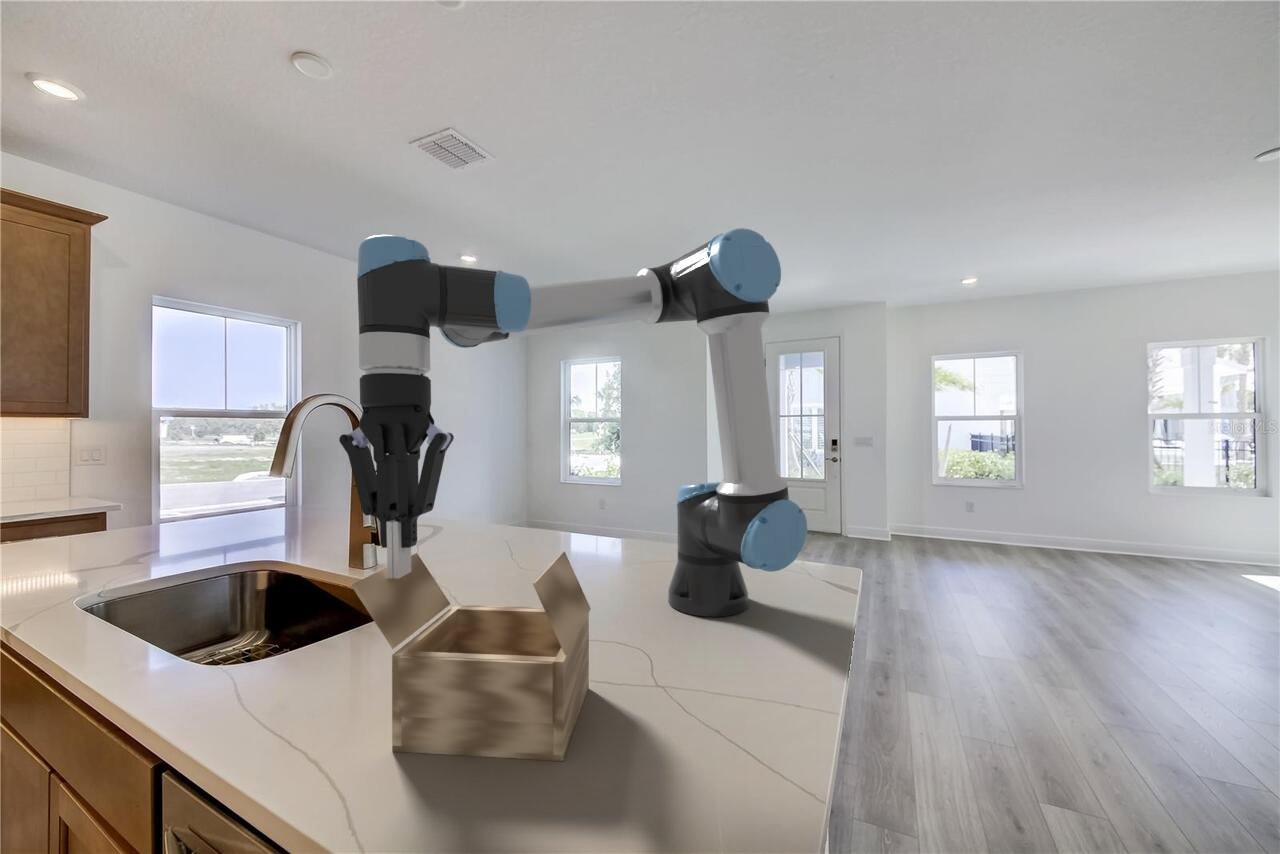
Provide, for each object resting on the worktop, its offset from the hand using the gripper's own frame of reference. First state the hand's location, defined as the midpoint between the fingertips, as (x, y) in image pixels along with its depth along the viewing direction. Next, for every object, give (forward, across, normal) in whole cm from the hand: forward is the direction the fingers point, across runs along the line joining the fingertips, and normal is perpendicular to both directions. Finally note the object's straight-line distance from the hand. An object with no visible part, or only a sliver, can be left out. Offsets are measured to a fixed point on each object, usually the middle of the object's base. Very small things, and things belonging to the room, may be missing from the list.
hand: (399, 574), depth 59 cm
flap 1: (+2, -1, 0) cm, 3 cm away
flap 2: (+3, -19, 0) cm, 20 cm away
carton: (+16, -12, 0) cm, 20 cm away
